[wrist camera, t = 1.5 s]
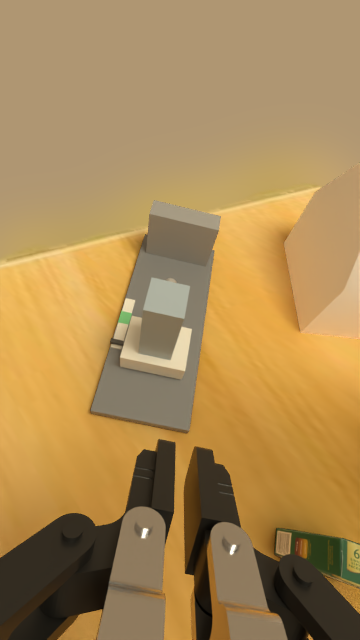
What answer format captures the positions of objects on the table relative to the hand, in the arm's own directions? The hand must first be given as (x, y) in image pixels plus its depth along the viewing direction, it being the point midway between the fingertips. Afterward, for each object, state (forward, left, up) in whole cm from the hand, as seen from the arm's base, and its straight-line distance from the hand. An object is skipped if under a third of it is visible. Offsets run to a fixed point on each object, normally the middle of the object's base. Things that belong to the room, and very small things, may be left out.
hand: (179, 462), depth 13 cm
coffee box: (-19, +3, -26) cm, 32 cm away
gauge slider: (+3, -20, -24) cm, 31 cm away
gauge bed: (+2, -22, -26) cm, 34 cm away
